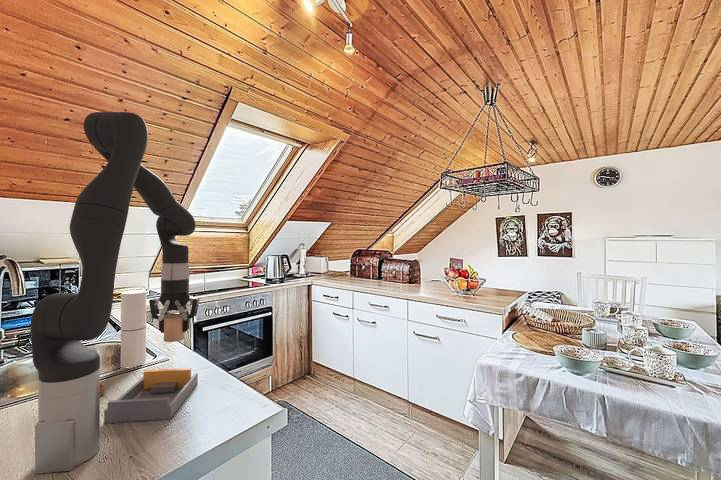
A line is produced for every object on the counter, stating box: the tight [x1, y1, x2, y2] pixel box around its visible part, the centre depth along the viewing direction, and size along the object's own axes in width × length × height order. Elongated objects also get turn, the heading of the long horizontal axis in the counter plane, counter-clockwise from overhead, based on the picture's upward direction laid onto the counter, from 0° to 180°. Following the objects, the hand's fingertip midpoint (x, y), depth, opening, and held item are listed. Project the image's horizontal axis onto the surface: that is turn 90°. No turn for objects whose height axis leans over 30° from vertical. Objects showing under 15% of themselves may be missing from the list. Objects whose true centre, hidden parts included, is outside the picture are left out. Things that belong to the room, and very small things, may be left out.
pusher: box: [142, 367, 192, 393], centre depth 93 cm, size 4×12×5 cm, turn 99°
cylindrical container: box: [120, 289, 147, 369], centre depth 111 cm, size 7×7×25 cm
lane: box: [103, 372, 199, 425], centre depth 87 cm, size 19×15×5 cm
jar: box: [163, 310, 186, 343], centre depth 100 cm, size 6×6×8 cm
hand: (174, 331), depth 100 cm, fingers closed on jar, 5 cm apart
